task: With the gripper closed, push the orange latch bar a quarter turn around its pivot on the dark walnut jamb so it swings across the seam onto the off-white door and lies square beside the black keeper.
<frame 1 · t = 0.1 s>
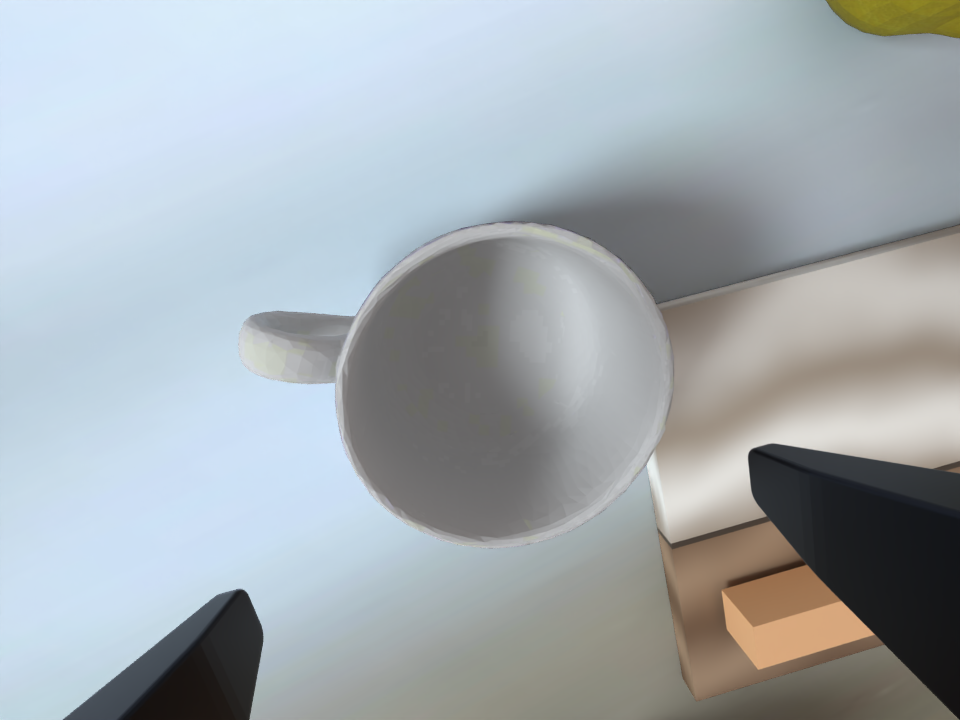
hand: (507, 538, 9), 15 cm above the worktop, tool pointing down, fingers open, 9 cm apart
latch bar: (893, 590, 24), point 4 cm above the worktop, hinge at 90.0°
door and jamb: (859, 457, 26), on the worktop
teacup: (449, 335, 23), on the worktop
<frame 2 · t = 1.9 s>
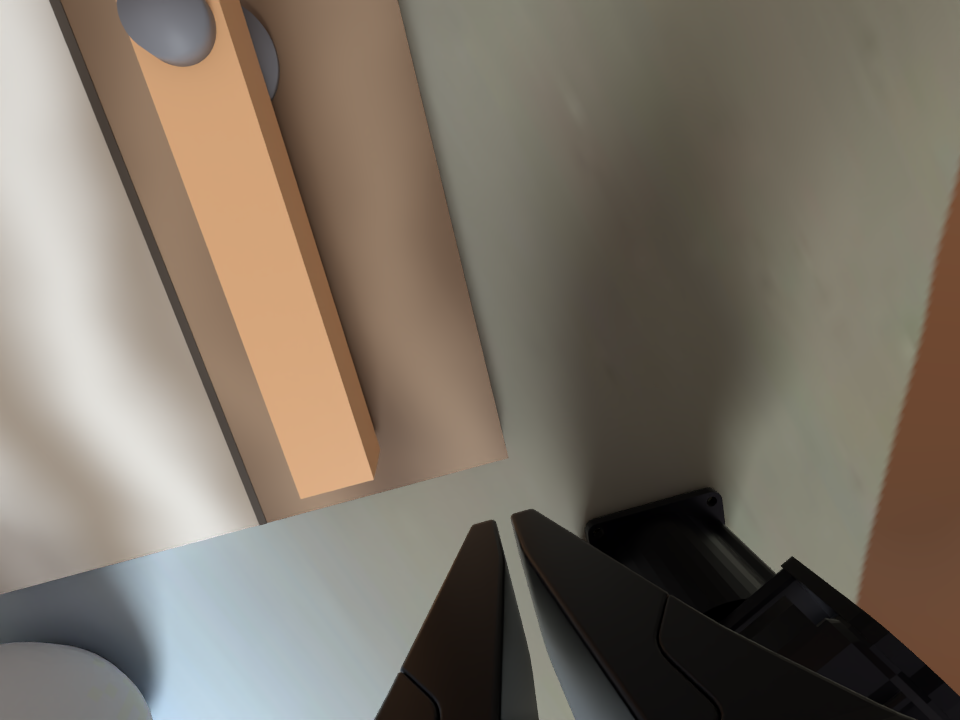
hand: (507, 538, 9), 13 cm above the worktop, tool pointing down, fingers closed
latch bar: (266, 259, 15), point 4 cm above the worktop, hinge at 90.0°
door and jamb: (147, 240, 18), on the worktop
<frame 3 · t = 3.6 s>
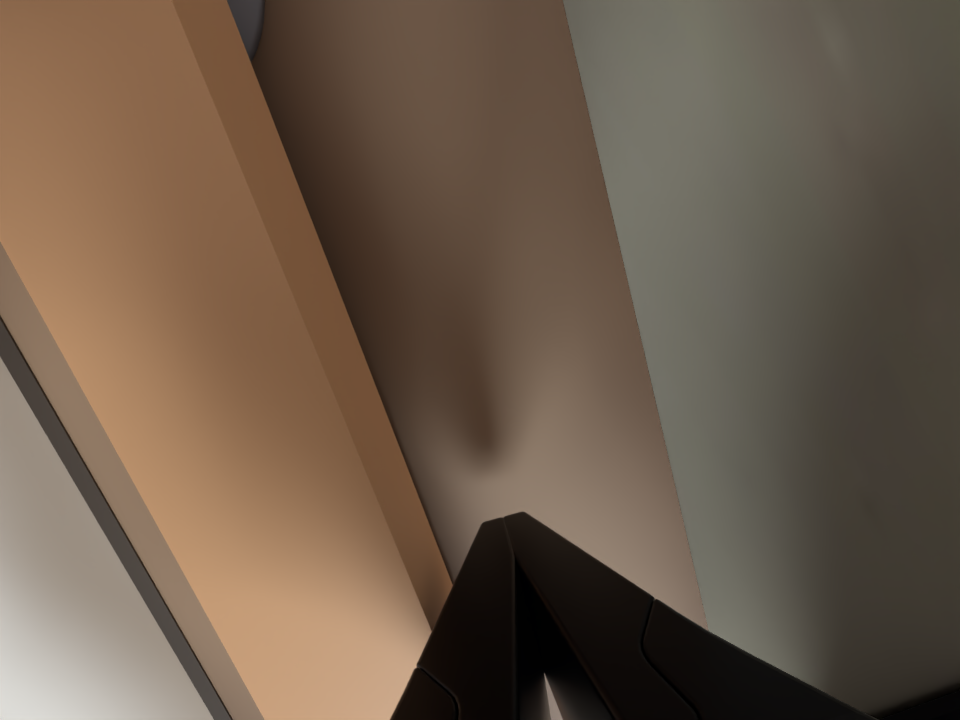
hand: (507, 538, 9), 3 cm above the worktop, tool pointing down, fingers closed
latch bar: (264, 426, 7), point 4 cm above the worktop, hinge at 90.0°, touching gripper
door and jamb: (37, 360, 9), on the worktop
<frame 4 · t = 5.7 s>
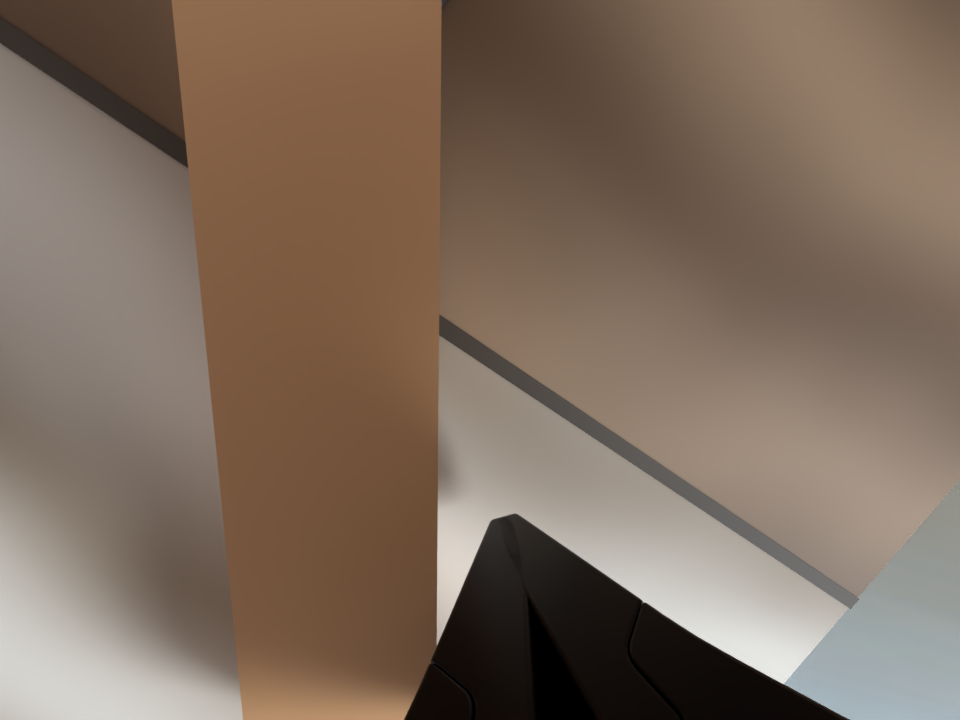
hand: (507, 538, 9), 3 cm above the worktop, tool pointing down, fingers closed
latch bar: (338, 372, 6), point 4 cm above the worktop, hinge at 33.8°, touching gripper
door and jamb: (412, 347, 10), on the worktop
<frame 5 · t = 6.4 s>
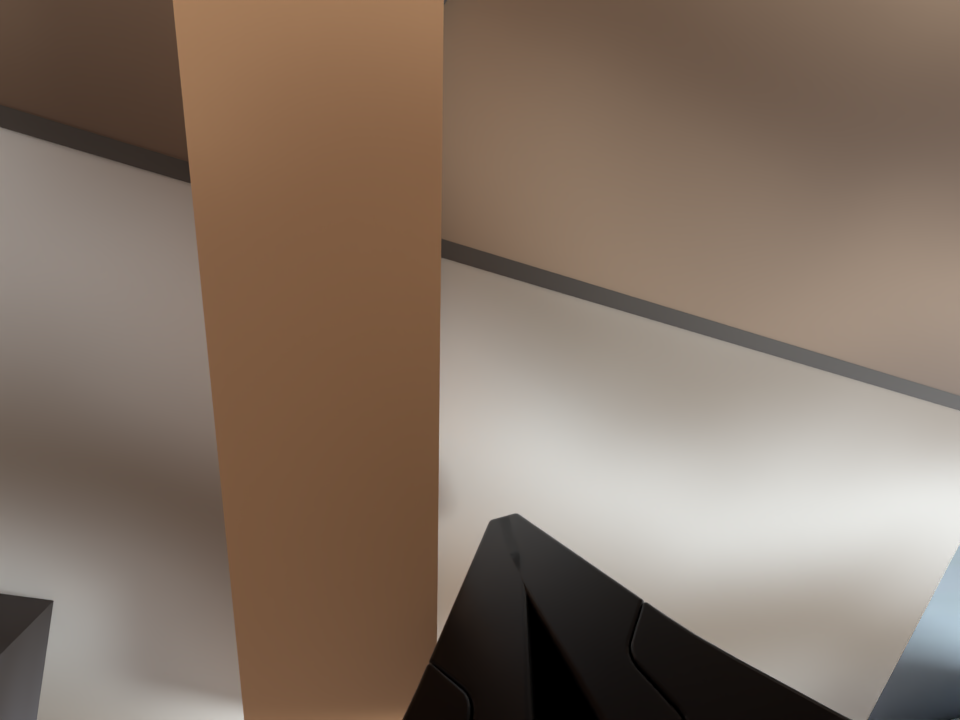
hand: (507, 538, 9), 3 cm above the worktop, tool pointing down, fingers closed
latch bar: (339, 371, 6), point 4 cm above the worktop, hinge at 14.7°, touching gripper
door and jamb: (514, 313, 10), on the worktop
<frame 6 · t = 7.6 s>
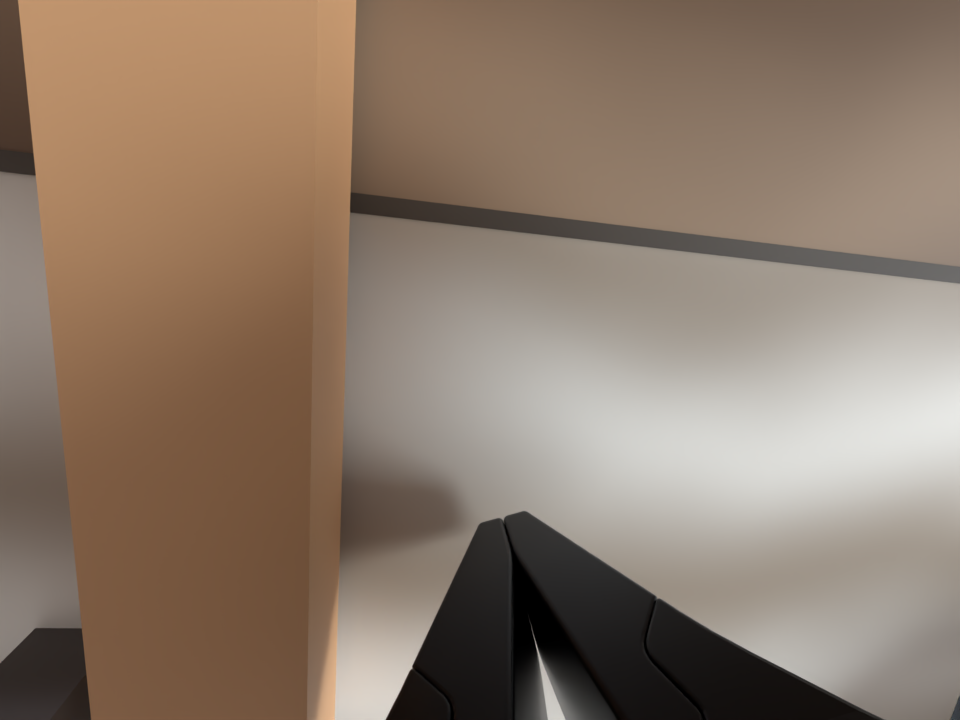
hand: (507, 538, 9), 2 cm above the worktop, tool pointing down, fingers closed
latch bar: (219, 356, 6), point 4 cm above the worktop, hinge at 1.1°
door and jamb: (525, 272, 10), on the worktop
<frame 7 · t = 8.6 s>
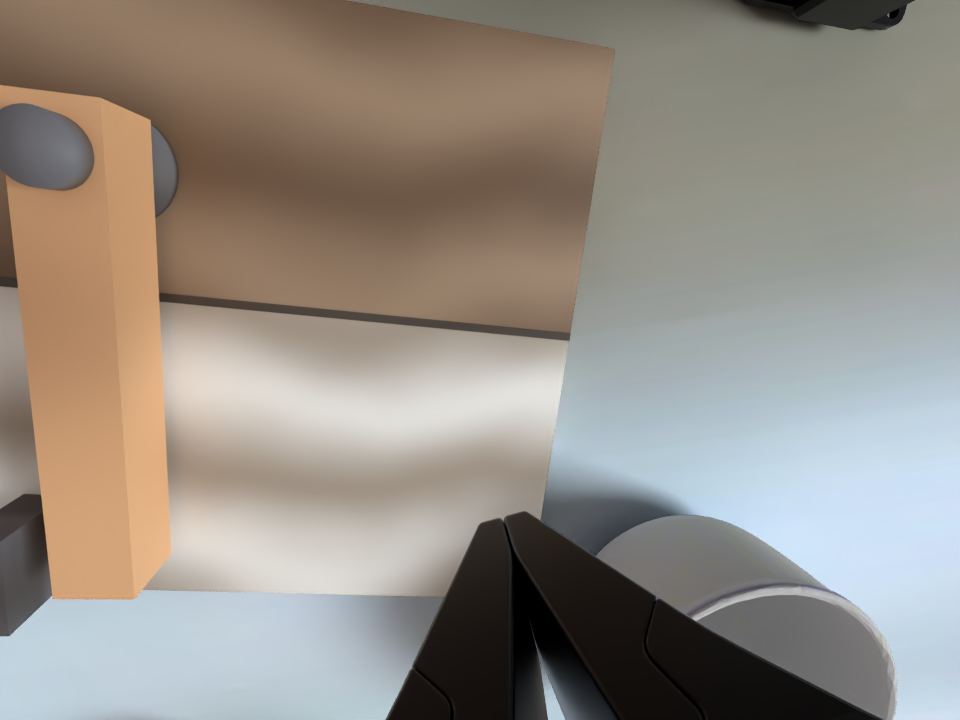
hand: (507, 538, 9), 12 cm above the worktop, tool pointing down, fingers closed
latch bar: (92, 367, 16), point 4 cm above the worktop, hinge at 1.1°
door and jamb: (272, 323, 19), on the worktop
teacup: (673, 595, 25), on the worktop
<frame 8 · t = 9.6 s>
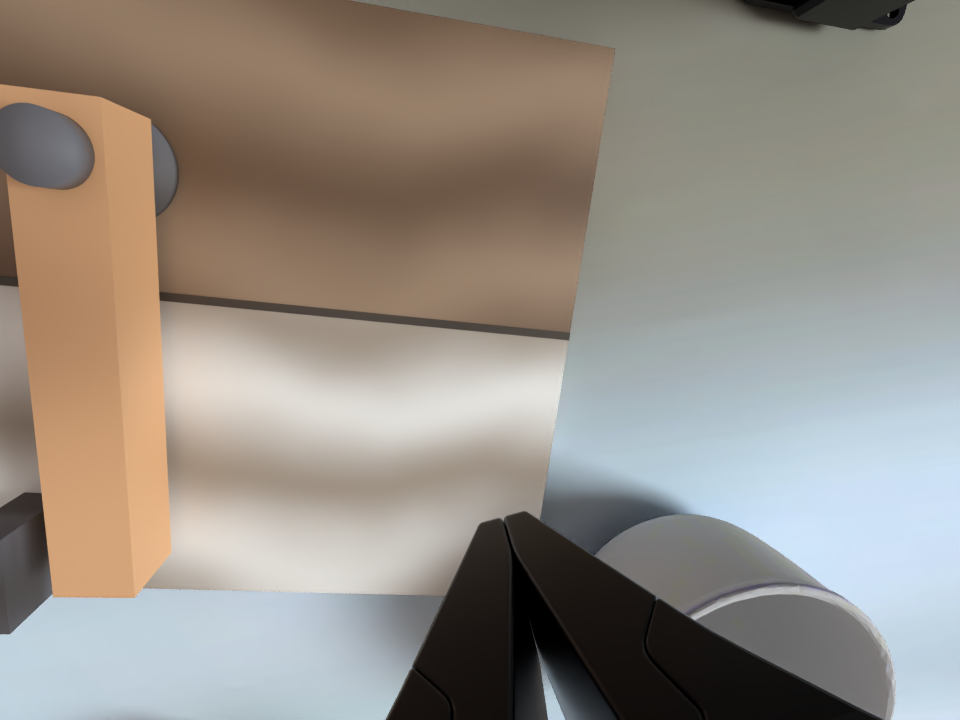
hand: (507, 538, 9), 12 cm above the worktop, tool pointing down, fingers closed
latch bar: (92, 366, 16), point 4 cm above the worktop, hinge at 1.1°
door and jamb: (273, 322, 19), on the worktop
teacup: (672, 594, 25), on the worktop
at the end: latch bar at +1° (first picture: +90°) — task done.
